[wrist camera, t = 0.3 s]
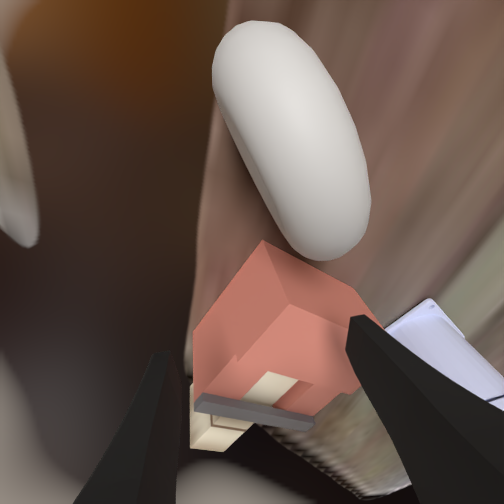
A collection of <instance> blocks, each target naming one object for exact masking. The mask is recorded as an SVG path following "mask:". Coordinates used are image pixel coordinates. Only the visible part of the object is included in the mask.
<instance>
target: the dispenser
mask: <svg viewBox="0 0 504 504" xmlns="http://www.w3.org/2000/svg"><path fill="white" fill-rule="evenodd" d="M362 314H365V315H366V316H368V317H369V318H370V319H371V320H373V321H374V322H375V323H376V324H377V325H379V326H380V327H381V328H382V329H384V328H383V327H382V326H381V324H380V323H379V322H378V320H377V319H376V318H375V316H374V315H373V314H372V312H371V311H370V310H369V308H368V307H367V306H366V304H365V303H364V302H363V300H362V299H361V298H360V296H359V295H358V294H357V292H356V291H355V290H354V288H352V287H350V286H348V285H346V284H345V283H343V282H341V281H339V280H337V279H335V278H333V277H331V276H329V275H328V274H326V273H324V272H322V271H320V270H318V269H316V268H314V267H313V266H311V265H309V264H307V263H305V262H303V261H301V260H299V259H298V258H296V257H294V256H292V255H290V254H288V253H286V252H284V251H283V250H281V249H279V248H277V247H275V246H273V245H271V244H269V243H268V242H266V241H264V240H262V241H261V242H260V243H259V245H258V246H257V247H256V249H255V250H254V251H253V253H252V254H251V255H250V257H249V258H248V259H247V261H246V262H245V263H244V265H243V266H242V267H241V269H240V270H239V271H238V273H237V274H236V275H235V277H234V278H233V279H232V281H231V282H230V283H229V285H228V286H227V287H226V289H225V290H224V291H223V292H222V294H221V295H220V296H219V298H218V299H217V300H216V302H215V303H214V304H213V306H212V307H211V308H210V310H209V311H208V312H207V314H206V315H205V316H204V318H203V319H202V320H201V322H200V323H199V324H198V326H197V327H196V328H195V330H194V331H193V391H194V412H199V413H204V414H210V415H215V416H221V417H226V418H232V419H237V420H243V421H248V422H254V423H259V424H265V425H270V426H275V427H281V428H286V429H292V430H297V431H303V432H307V431H308V430H309V429H310V428H311V427H313V426H314V425H315V421H314V418H313V416H314V415H315V414H316V413H317V412H318V411H320V410H321V409H322V408H323V407H324V406H325V405H327V404H328V403H329V402H330V401H331V400H332V399H334V398H335V397H336V396H337V395H338V394H339V393H341V392H343V393H346V394H350V395H351V394H352V393H353V392H354V391H356V390H357V389H358V388H359V387H360V386H361V384H360V382H359V380H358V378H357V377H356V375H355V373H354V370H353V368H352V366H351V363H350V361H349V359H348V356H347V354H346V351H345V347H346V340H347V334H348V328H349V322H350V317H352V316H357V315H362ZM267 371H269V372H273V373H276V374H280V375H283V376H287V377H290V378H294V379H297V380H298V381H297V382H296V383H295V384H294V385H293V386H292V387H291V388H290V389H289V390H288V391H287V392H286V393H285V394H284V395H282V396H281V397H280V398H279V399H278V400H277V401H276V402H275V403H274V404H273V407H268V406H263V405H259V404H254V403H250V402H245V401H240V399H241V398H242V397H243V396H244V395H245V394H246V393H247V392H248V391H249V390H250V389H251V388H252V387H253V386H254V385H255V384H256V383H257V382H258V381H259V380H260V379H261V378H262V377H263V376H264V375H265V373H266V372H267Z"/></svg>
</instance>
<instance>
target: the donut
mask: <svg viewBox="0 0 504 504" xmlns="http://www.w3.org/2000/svg"><path fill="white" fill-rule="evenodd" d="M212 82H213V90H214V93H215V96H216V99H217V102H218V105H219V107H220V110H221V113H222V115H223V117H224V120H225V122H226V124H227V126H228V129H229V131H230V133H231V135H232V138H233V140H234V142H235V144H236V146H237V148H238V150H239V152H240V154H241V157H242V159H243V161H244V163H245V165H246V167H247V169H248V171H249V173H250V175H251V177H252V179H253V181H254V183H255V185H256V187H257V189H258V190H259V192H260V194H261V196H262V198H263V200H264V202H265V204H266V206H267V208H268V209H269V211H270V213H271V215H272V217H273V219H274V220H275V222H276V224H277V225H278V227H279V229H280V231H281V232H282V234H283V235H284V237H285V238H286V240H287V241H288V242H289V244H290V245H291V247H292V248H293V249H294V250H296V251H297V252H298V253H300V254H301V255H303V256H304V257H306V258H309V259H312V260H315V261H330V260H333V259H336V258H339V257H341V256H342V255H344V254H345V253H347V252H348V251H349V250H351V249H352V248H353V247H354V246H355V245H357V244H358V242H359V241H360V239H361V238H362V237H363V235H364V234H365V232H366V228H367V225H368V221H369V214H370V207H371V195H370V187H369V180H368V173H367V165H366V160H365V157H364V153H363V150H362V147H361V143H360V140H359V137H358V133H357V130H356V127H355V124H354V122H353V120H352V118H351V115H350V113H349V111H348V109H347V107H346V104H345V102H344V100H343V98H342V96H341V93H340V91H339V89H338V87H337V86H336V84H335V83H334V81H333V80H332V78H331V76H330V75H329V73H328V72H327V70H326V69H325V67H324V66H323V64H322V63H321V61H320V59H319V58H318V57H317V55H316V54H315V52H314V51H313V50H312V49H311V48H310V47H309V46H308V45H307V44H306V43H305V42H304V41H303V40H302V39H301V38H300V37H299V36H298V35H297V34H296V33H295V32H293V31H292V30H291V29H289V28H287V27H285V26H283V25H282V24H280V23H273V22H264V21H248V22H245V23H242V24H239V25H237V26H235V27H234V28H233V29H232V30H231V31H230V32H228V33H227V34H226V35H225V36H224V38H223V39H222V41H221V43H220V44H219V46H218V48H217V50H216V53H215V57H214V61H213V65H212Z"/></svg>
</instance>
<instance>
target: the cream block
mask: <svg viewBox="0 0 504 504" xmlns="http://www.w3.org/2000/svg"><path fill="white" fill-rule="evenodd" d="M297 381H298V380H297V379H294V378H290V377H287V376H283V375H280V374H276V373H273V372H269V371H267V372H266V373H265V375H264V376H263V377H262V378H261V379H260V380H259V381H258V382H257V383H256V384H255V385H254V386H253V387H252V388H251V389H250V390H249V391H248V392H247V393H246V394H245V395H244V396H243V397H242V398H241V399H240V401H245V402H250V403H254V404H259V405H263V406H268V407H271V406H272V405H273V404H274V403H275V402H276V401H277V400H278V399H279V398H280V397H281V396H282V395H284V394H285V393H286V392H287V391H288V390H289V389H290V388H291V387H292V386H293V385H294V384H295V383H296V382H297ZM253 423H254V422H248V421H243V420H237V419H232V418H226V417H221V416H215V415H210V414H204V413H199V412H194V391H193V384H192V385H191V386H190V448H194V449H203V450H211V451H220V452H224V451H225V450H226V449H227V448H228V447H229V446H230V445H231V444H232V443H233V442H234V441H235V440H236V439H237V438H238V437H240V436H241V435H242V434H243V433H244V432H245V431H246V430H247V429H248V428H249V427H250V426H251V425H252V424H253Z"/></svg>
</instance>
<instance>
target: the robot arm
mask: <svg viewBox="0 0 504 504" xmlns="http://www.w3.org/2000/svg"><path fill="white" fill-rule="evenodd" d="M464 338H465V336H464V335H463V334H462V333H461V331H460V330H459V329H458V328H457V327H456V326H455V325H454V323H453V322H452V321H451V320H450V319H449V318H448V317H447V315H446V314H445V313H444V312H443V311H442V310H441V309H440V307H439V306H438V305H437V304H436V303H435V302H434V301H433V300H432V299H431V298H428V299H426V300H424V301H423V302H421V303H420V304H419V305H417V306H416V307H415V308H413V309H412V310H410V311H409V312H408V313H406V314H405V315H403V316H402V317H401V318H399V319H398V320H397V321H395V322H394V323H392V324H391V325H390V326H388V327H387V328H385V329H382V328H381V327H380V326H379V325H377V324H376V323H375V322H374V321H373V320H371V319H370V318H369V317H368V316H366V315H365V314H362V315H357V316H352V317H350V322H349V328H348V334H347V340H346V347H345V351H346V354H347V356H348V359H349V361H350V363H351V366H352V368H353V370H354V373H355V375H356V377H357V378H358V380H359V382H360V384H361V386H362V387H363V389H364V391H365V393H366V394H367V396H368V398H369V400H370V401H371V403H372V405H373V407H374V409H375V410H376V412H377V414H378V416H379V417H380V419H381V421H382V423H383V424H384V426H385V428H386V430H387V432H388V434H389V435H390V437H391V439H392V441H393V443H394V445H395V448H396V450H397V452H398V454H399V456H400V458H401V461H402V463H403V465H404V467H405V469H406V472H407V474H408V476H409V479H410V481H411V483H412V485H413V488H414V490H415V492H416V495H417V496H418V499H419V502H420V504H504V377H503V376H502V375H501V374H500V373H499V372H498V371H497V370H496V369H495V368H494V367H493V366H492V365H491V364H489V363H488V362H487V361H486V360H485V359H484V358H483V357H482V356H481V355H480V354H479V353H478V352H477V351H476V350H475V349H474V348H473V347H472V346H471V345H470V344H469V343H468V342H467V341H466V340H465V339H464ZM181 416H182V390H181V380H180V377H179V375H178V371H177V369H176V366H175V363H174V360H173V357H172V354H171V351H164V352H160V353H154V354H153V355H152V356H151V359H150V362H149V364H148V367H147V369H146V371H145V374H144V376H143V379H142V381H141V383H140V385H139V387H138V390H137V392H136V394H135V396H134V398H133V400H132V402H131V404H130V406H129V409H128V411H127V413H126V415H125V417H124V419H123V421H122V422H121V424H120V426H119V428H118V430H117V432H116V433H115V435H114V437H113V439H112V441H111V443H110V445H109V446H108V448H107V450H106V451H105V453H104V455H103V457H102V458H101V460H100V462H99V463H98V465H97V467H96V468H95V470H94V472H93V473H92V475H91V476H90V478H89V480H88V481H87V483H86V484H85V486H84V487H83V489H82V490H81V492H80V493H79V495H78V496H77V498H76V499H75V501H74V503H73V504H176V477H177V465H178V464H177V463H178V453H179V440H180V429H181Z"/></svg>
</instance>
